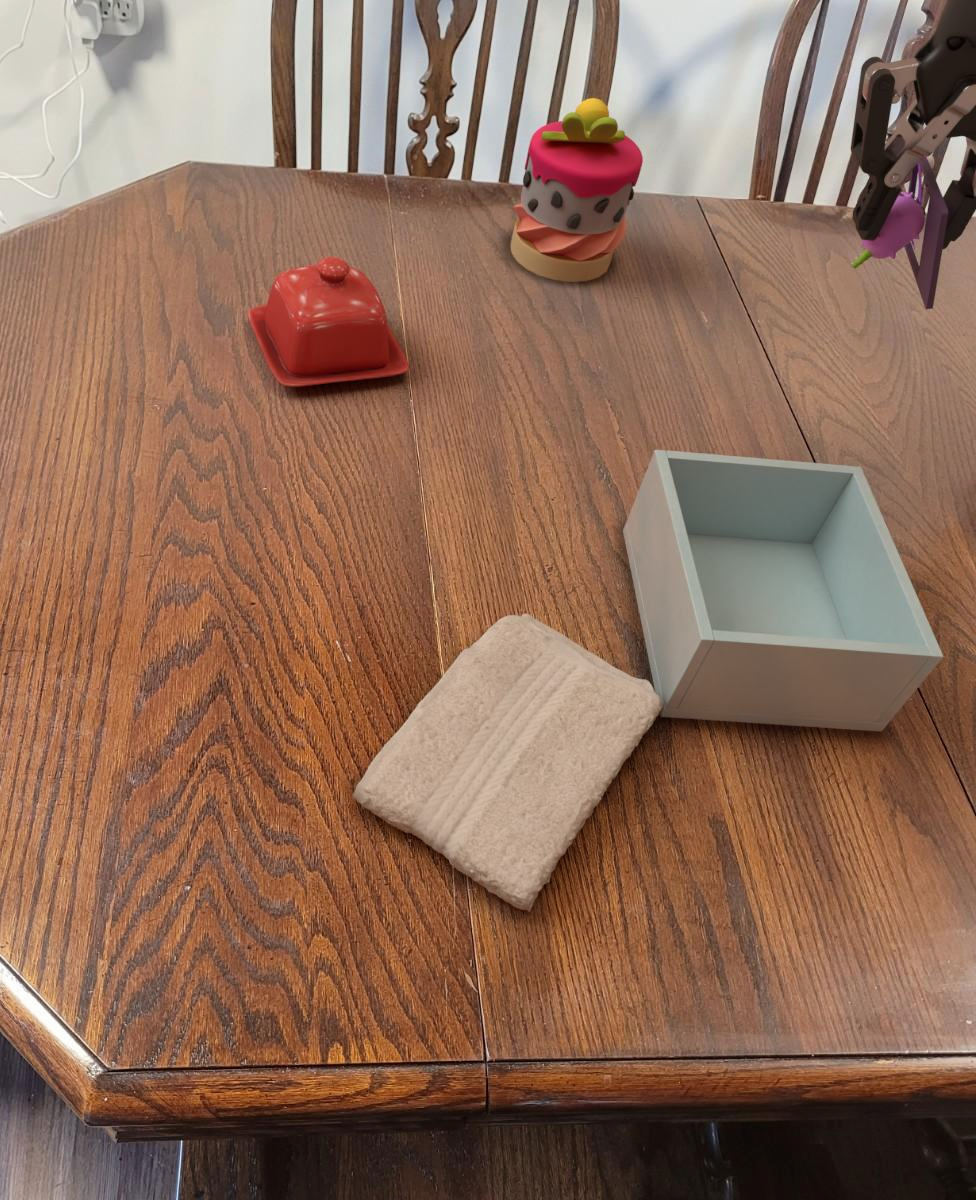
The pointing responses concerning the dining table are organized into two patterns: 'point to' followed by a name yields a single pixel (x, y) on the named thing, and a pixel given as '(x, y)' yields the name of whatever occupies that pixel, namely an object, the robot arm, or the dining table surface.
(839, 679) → the open box
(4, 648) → the dining table surface
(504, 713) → the washcloth
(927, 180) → the pink dragon fruit
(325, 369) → the butter dish
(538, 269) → the cake
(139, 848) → the dining table surface
